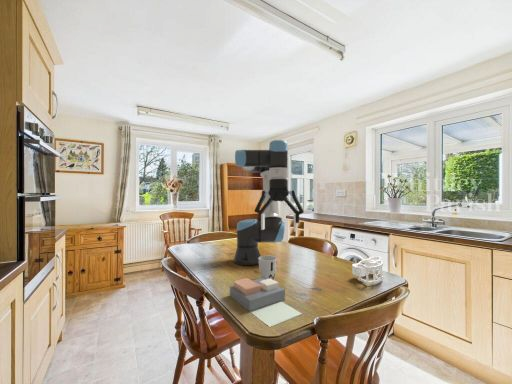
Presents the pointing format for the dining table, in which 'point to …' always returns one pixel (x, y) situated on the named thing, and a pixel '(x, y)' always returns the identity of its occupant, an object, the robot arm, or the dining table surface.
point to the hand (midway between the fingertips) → (278, 230)
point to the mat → (276, 314)
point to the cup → (267, 266)
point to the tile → (247, 286)
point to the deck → (258, 297)
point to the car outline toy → (368, 269)
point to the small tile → (268, 284)
